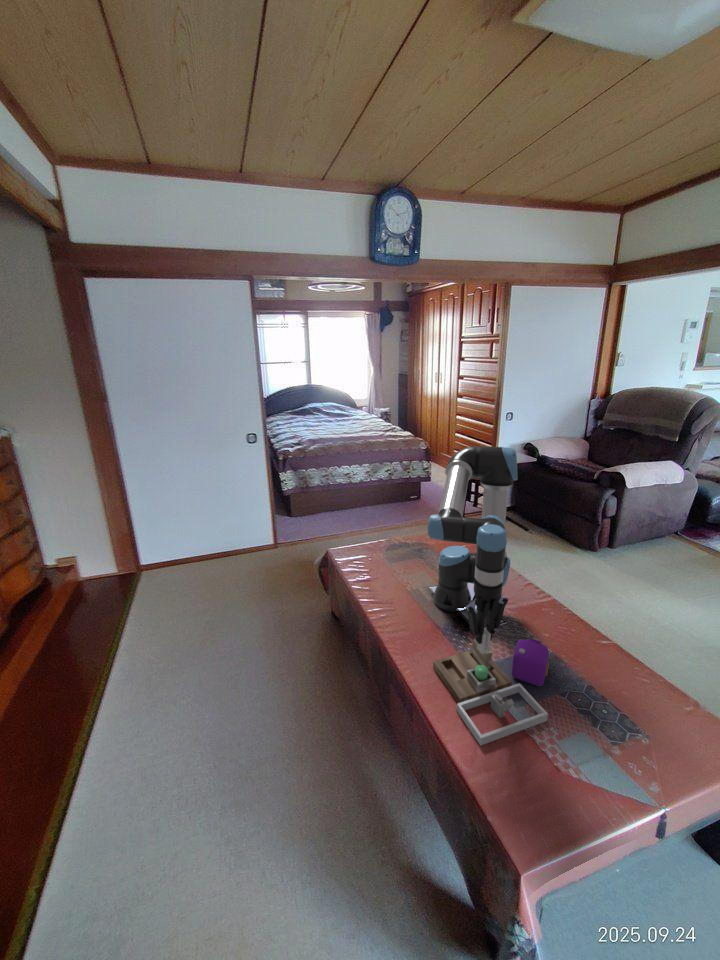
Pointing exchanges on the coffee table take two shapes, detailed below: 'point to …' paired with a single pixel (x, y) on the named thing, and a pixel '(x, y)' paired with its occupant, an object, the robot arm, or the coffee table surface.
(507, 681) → the station
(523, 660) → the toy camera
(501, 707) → the lighter
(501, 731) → the rectangular frame
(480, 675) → the button
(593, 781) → the coffee table surface
